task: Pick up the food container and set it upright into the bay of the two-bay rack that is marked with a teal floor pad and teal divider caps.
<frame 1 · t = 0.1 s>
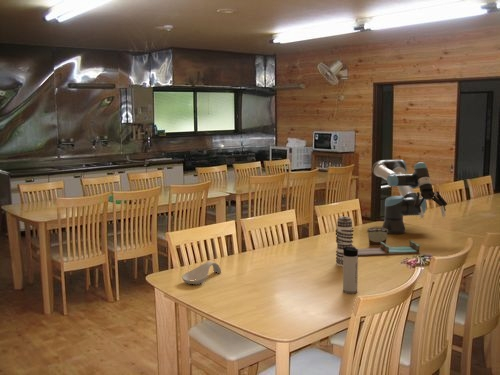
hand: (433, 216, 303), 15 cm above the table, tool tilted 35°, fingers open, 13 cm apart
spoon rest: (202, 280, 242), on the table
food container: (376, 244, 300), on the table
travel mug: (349, 291, 222), on the table
rack: (384, 252, 284), on the table
decorative candle: (344, 264, 262), on the table
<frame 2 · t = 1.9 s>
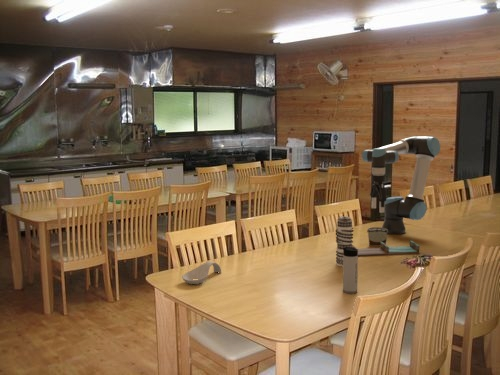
hand: (377, 210, 297), 21 cm above the table, tool pointing down, fingers open, 13 cm apart
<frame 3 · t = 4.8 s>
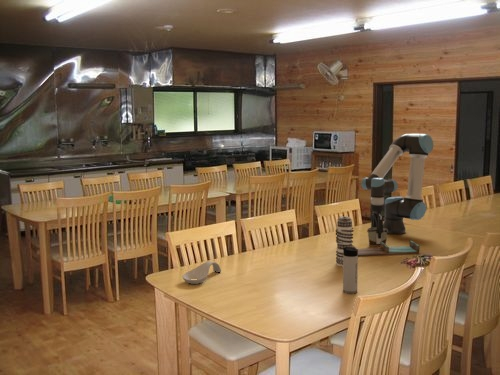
hand: (376, 242, 300), 2 cm above the table, tool pointing down, fingers closed on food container, 6 cm apart
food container: (376, 244, 300), on the table, touching gripper
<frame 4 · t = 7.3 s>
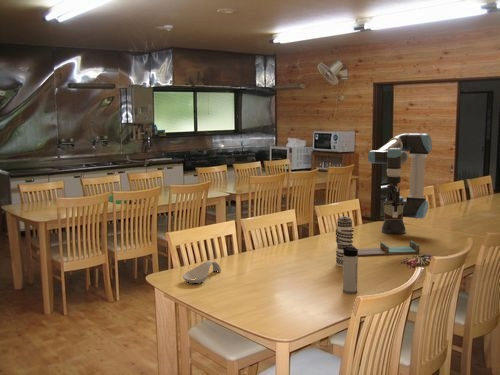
hand: (392, 216, 286), 20 cm above the table, tool pointing down, fingers closed on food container, 7 cm apart
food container: (392, 219, 286), point 18 cm above the table, touching gripper
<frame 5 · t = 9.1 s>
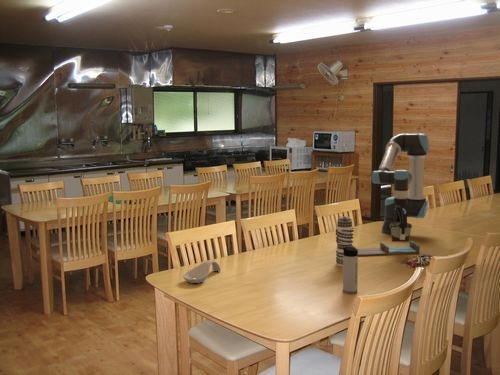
hand: (399, 238, 283), 8 cm above the table, tool pointing down, fingers closed on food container, 7 cm apart
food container: (399, 240, 284), point 6 cm above the table, touching gripper
when the fingers open (4 cm above the table, at t = 10.2 s): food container stays where it is, resting on rack.
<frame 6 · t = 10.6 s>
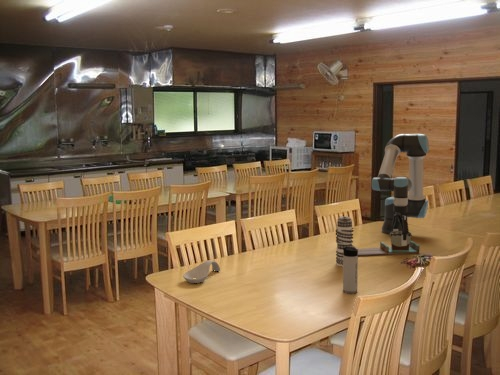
hand: (399, 242, 284), 5 cm above the table, tool pointing down, fingers open, 11 cm apart
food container: (399, 249, 285), point 1 cm above the table, touching rack
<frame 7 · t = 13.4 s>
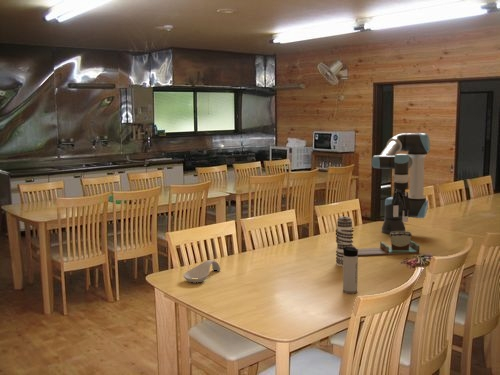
hand: (400, 219, 282), 19 cm above the table, tool pointing down, fingers open, 13 cm apart
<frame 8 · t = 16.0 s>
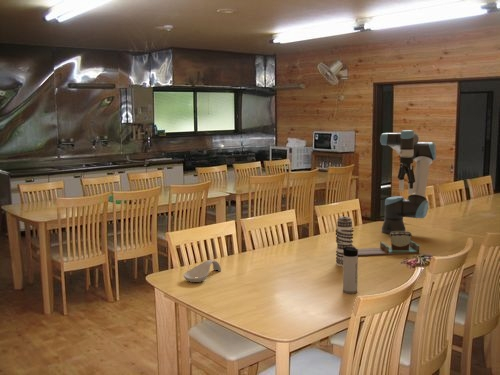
hand: (405, 192, 300), 31 cm above the table, tool pointing down, fingers open, 13 cm apart
at the end: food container inside the target area on the rack (0.4 cm from its centre), point 1.1 cm above the rack's base; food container tilted 0°; the gripper is holding nothing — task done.
